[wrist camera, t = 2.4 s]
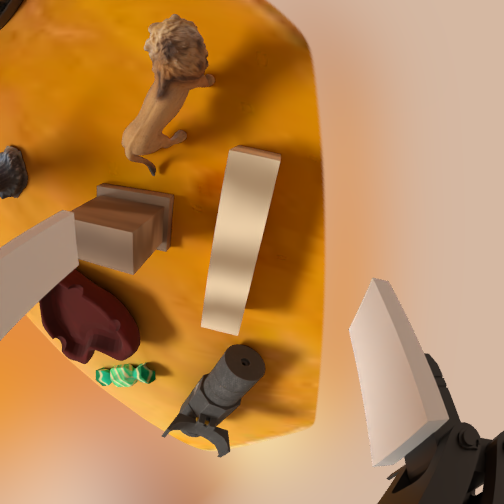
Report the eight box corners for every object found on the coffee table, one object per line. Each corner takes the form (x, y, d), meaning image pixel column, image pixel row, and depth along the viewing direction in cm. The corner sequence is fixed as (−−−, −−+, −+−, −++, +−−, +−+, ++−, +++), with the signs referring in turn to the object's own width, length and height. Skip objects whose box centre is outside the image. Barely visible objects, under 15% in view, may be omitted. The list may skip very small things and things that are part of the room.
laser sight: (280, 358, 37) (276, 419, 28) (218, 420, 46) (208, 464, 37) (214, 329, 35) (195, 390, 26) (170, 401, 45) (154, 445, 36)
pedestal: (102, 183, 28) (57, 205, 21) (174, 194, 28) (138, 222, 21) (103, 231, 31) (63, 262, 23) (170, 246, 30) (138, 285, 23)
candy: (140, 359, 39) (141, 384, 37) (154, 362, 42) (156, 386, 40) (96, 364, 42) (95, 385, 40) (109, 367, 45) (109, 388, 43)
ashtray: (94, 235, 31) (71, 252, 27) (157, 335, 37) (144, 359, 33) (33, 271, 36) (15, 287, 32) (85, 347, 42) (72, 366, 38)
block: (239, 144, 25) (229, 150, 21) (281, 154, 25) (280, 161, 21) (211, 299, 33) (201, 326, 29) (244, 307, 33) (237, 335, 29)
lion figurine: (182, 34, 20) (141, 5, 12) (233, 46, 21) (208, 14, 13) (135, 166, 27) (84, 188, 19) (179, 183, 27) (138, 212, 19)
